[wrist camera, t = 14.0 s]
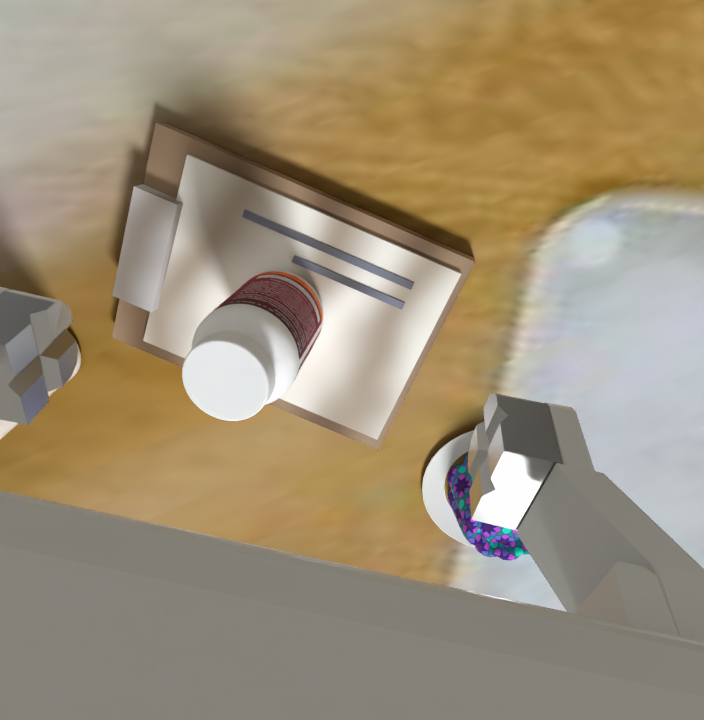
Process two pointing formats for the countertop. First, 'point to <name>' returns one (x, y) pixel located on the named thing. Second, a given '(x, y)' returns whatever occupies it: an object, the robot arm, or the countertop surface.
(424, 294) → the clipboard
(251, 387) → the pill bottle
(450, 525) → the pudding
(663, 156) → the countertop surface
